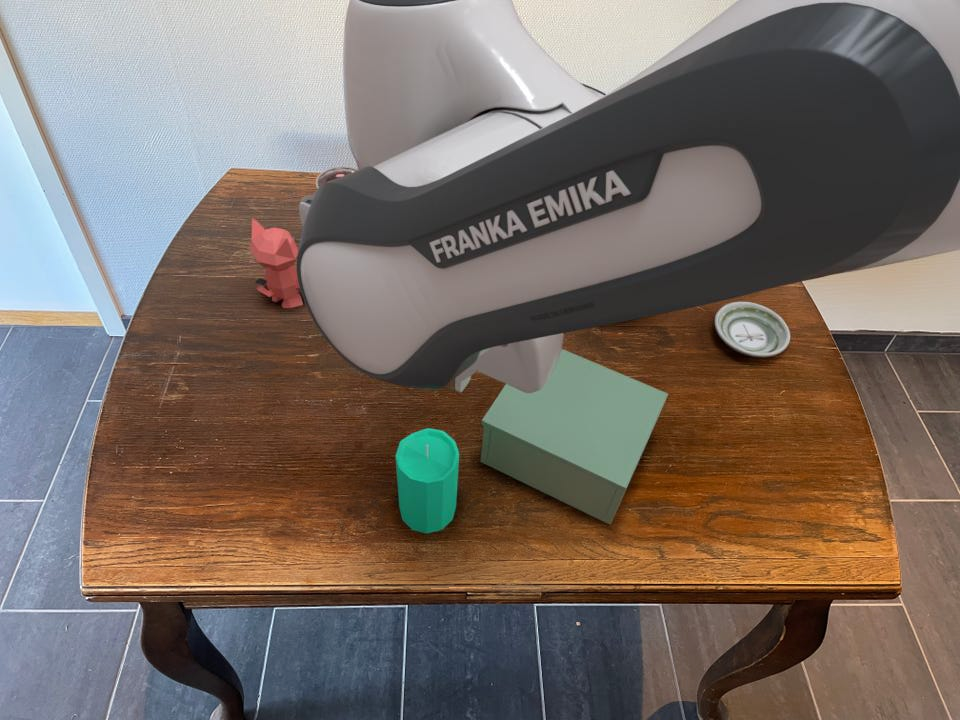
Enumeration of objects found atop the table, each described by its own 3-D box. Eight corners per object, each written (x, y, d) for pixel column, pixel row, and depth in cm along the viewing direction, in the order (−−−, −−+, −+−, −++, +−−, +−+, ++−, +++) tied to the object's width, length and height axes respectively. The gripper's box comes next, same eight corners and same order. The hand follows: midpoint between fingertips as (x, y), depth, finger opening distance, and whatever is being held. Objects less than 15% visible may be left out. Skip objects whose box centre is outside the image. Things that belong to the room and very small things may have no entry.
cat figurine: (323, 296, 92) (311, 225, 83) (285, 325, 88) (268, 254, 79) (285, 273, 95) (270, 201, 85) (247, 301, 91) (226, 229, 82)
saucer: (756, 306, 96) (762, 294, 94) (798, 358, 90) (806, 345, 88) (696, 320, 93) (701, 308, 91) (735, 374, 87) (741, 362, 85)
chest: (610, 525, 73) (626, 488, 67) (480, 461, 77) (484, 421, 71) (648, 438, 80) (666, 398, 74) (528, 385, 84) (535, 342, 78)
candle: (455, 482, 75) (459, 418, 66) (456, 533, 71) (460, 473, 62) (400, 482, 75) (396, 418, 66) (397, 533, 71) (393, 473, 62)
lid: (624, 492, 66) (626, 488, 66) (480, 425, 70) (481, 420, 70) (666, 398, 74) (668, 393, 74) (535, 342, 78) (536, 337, 78)
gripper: (266, 208, 46) (297, 345, 56) (547, 324, 40) (523, 451, 51) (324, 161, 49) (342, 298, 60) (587, 261, 44) (557, 393, 55)
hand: (427, 369), depth 55 cm, fingers open, 4 cm apart
